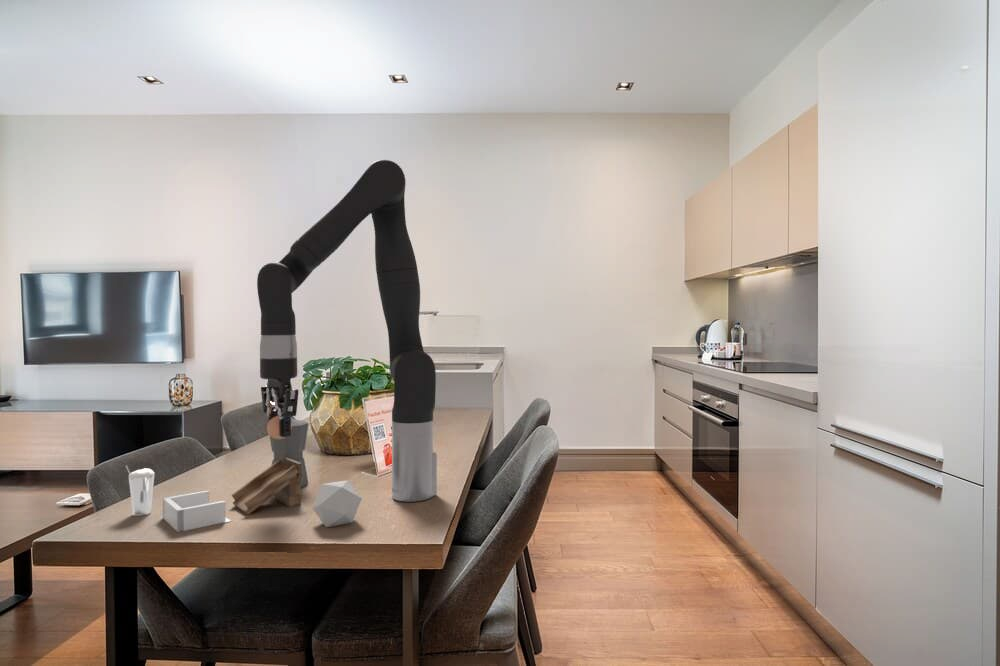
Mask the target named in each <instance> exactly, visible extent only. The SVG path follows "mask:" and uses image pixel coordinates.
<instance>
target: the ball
mask: <svg viewBox="0 0 1000 666" xmlns="http://www.w3.org/2000/svg"><path fill="white" fill-rule="evenodd" d="M279 420H280V418H279V415H278V416H276V417H274V418H272V419H271V420H270V421H269V420H268V422H267V425H266V430H267V434H268V435H269V437H270V436H271V437H272V438H274V439H283V438H285V437H280V435H279ZM291 429H292V425H291Z"/></svg>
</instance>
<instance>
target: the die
mask: <svg viewBox="0 0 1000 666" xmlns="http://www.w3.org/2000/svg"><path fill="white" fill-rule="evenodd" d="M361 501H362V497H361V496H360V494H359V493H358V492H357V490H356V489H355V488H354V486H353V485H352V484H351V483H350V481H349V480H342V481H340V480H339V481H333V482H325V483H322V484H321V485H320V488H319V490H318V493H317V496H316V499H315V501H314V504H313V505H312V506H313V507H312V510H313V511H314V513H315V514H316V515H317V518H319V519H320V521H321V523H322V524H323V525H324V527H325V528H331V527H336V526H342V525H348V524H352V523H353V521H354V519H355V517H356V515H357V512H358V509H359V506H360V504H361Z"/></svg>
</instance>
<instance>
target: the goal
mask: <svg viewBox="0 0 1000 666" xmlns="http://www.w3.org/2000/svg"><path fill="white" fill-rule="evenodd" d="M210 495H211V493H210V490H204V491H203V490H202V491H196V492H191V493H186V494H180V495H173V496H168V497H163V498H162V519H163V520H164V521H165V522H166V523H168V525H169V526H171V527H172V528H173V530H175V532H177V533H180V532H186V531H191V530H195V529H199V528H204V527H209V526H214V525H219V524H225V523H224V522H225V521H226V518H227V516H226V508H227V506H226V503H227V502H226V501H225V500H221V501H216V502H210V501H211V500H210V499H211V498H210V497H211V496H210Z"/></svg>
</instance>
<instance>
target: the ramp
mask: <svg viewBox="0 0 1000 666" xmlns="http://www.w3.org/2000/svg"><path fill="white" fill-rule="evenodd" d="M301 478H302V463H300V462H297V461H294V460H292V459H289V458H287V457H285V458H283V463H282V461H281V460H278V461H277V462H276V463H274V464H273V465H272V464H271V465H270V466H269V467H267V468H266V469H264V470H263V471H262V472H260V473H259V474H258V475H256V476H255V477H253V478H252V479H251V480H249V481H248V482H247V483H245V484H244V485H243V486H240V488H239V489H237V490H236V491H234V492H233V493H232V494H231V497H232V498H233V502H232V504H233V506H234V507H235V508H237V509H239V510H240V511H241V512H243V513H244V514H247V515H248V516H249V515H250V514H251V513H253V511H255V510H257V508H259V507H260V506H262V505H263V504H264V503H266V502H267V501H268V500H269V499H271V498H272V497H273V496H274V499H276V500H277V501H279V502H281V503H282V504H284V505H287V506H288V507H293V506H297V505H298V506H299V505H301V504H302V502H301V500H302V498H301V497H302V494H301V492H302V491H301V489H302V487H301Z"/></svg>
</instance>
